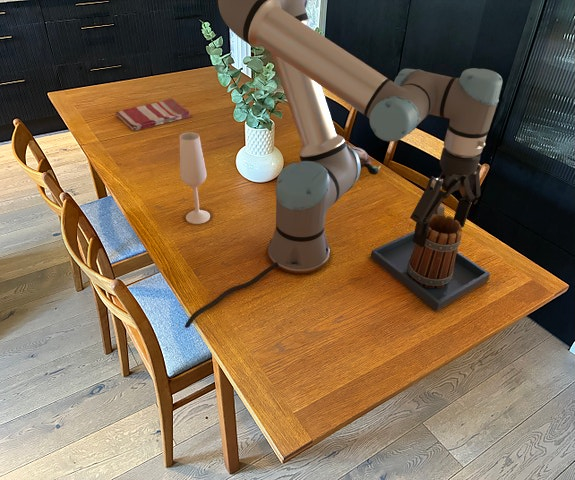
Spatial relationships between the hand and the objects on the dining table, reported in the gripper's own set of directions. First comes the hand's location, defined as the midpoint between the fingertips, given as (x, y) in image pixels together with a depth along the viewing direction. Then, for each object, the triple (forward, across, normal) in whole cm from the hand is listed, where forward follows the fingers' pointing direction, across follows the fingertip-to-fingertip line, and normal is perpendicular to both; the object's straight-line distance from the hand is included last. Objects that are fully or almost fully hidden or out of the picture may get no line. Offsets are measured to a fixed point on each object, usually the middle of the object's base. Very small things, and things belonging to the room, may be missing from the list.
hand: (438, 234), depth 107 cm
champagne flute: (+11, -38, +50) cm, 63 cm away
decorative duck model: (+11, +14, +46) cm, 49 cm away
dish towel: (+10, -23, +119) cm, 121 cm away
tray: (+11, 0, 0) cm, 11 cm away
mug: (+11, 0, 0) cm, 11 cm away
